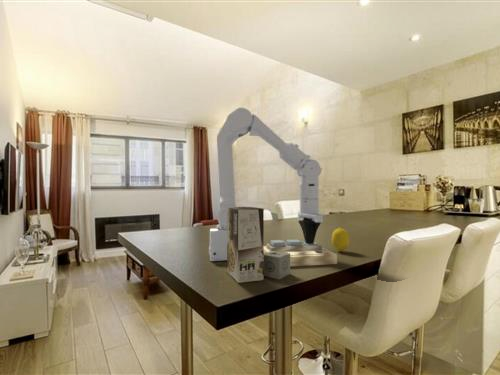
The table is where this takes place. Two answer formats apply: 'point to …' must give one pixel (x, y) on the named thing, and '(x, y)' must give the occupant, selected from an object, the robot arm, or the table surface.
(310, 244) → the button right
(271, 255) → the dice cube
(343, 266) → the table surface
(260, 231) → the coffee box
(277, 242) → the button left
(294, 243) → the button middle
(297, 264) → the button board
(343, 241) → the lemon
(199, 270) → the table surface
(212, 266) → the table surface
